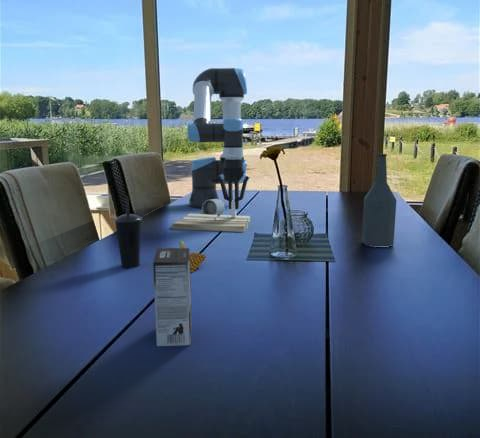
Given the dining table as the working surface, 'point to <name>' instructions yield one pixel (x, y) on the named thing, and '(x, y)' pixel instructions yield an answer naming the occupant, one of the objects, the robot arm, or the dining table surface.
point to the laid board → (210, 225)
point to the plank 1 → (201, 216)
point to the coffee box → (172, 296)
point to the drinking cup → (129, 237)
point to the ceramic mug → (213, 207)
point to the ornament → (194, 258)
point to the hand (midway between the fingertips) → (233, 217)
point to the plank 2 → (237, 218)
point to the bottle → (379, 210)
